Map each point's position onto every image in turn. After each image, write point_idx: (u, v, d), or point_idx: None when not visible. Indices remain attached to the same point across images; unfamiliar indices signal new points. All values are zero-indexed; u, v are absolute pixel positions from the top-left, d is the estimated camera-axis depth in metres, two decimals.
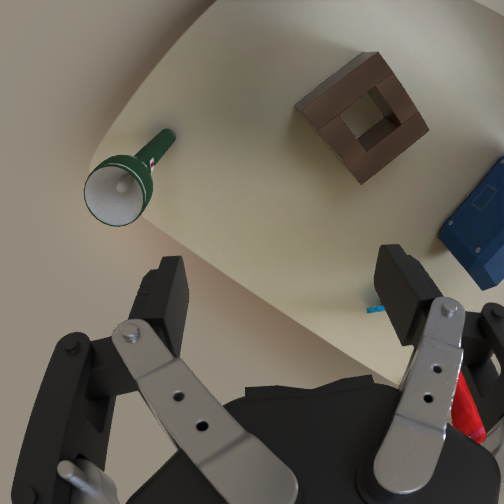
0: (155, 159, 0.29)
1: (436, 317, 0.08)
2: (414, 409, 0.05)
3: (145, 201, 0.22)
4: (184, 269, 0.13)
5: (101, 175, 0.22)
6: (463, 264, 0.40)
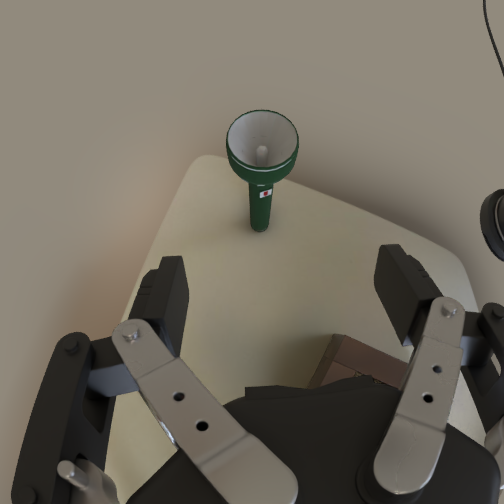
0: (265, 199, 0.30)
1: (436, 317, 0.08)
2: (414, 409, 0.05)
3: (266, 170, 0.21)
4: (184, 269, 0.13)
5: (272, 128, 0.23)
6: None
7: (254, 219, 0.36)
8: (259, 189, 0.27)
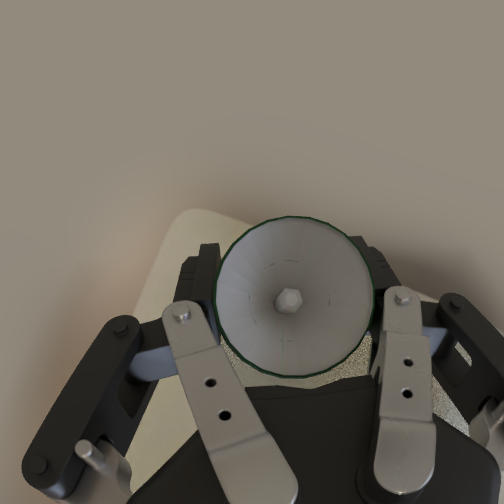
0: None
1: (392, 308, 0.09)
2: (396, 407, 0.06)
3: None
4: (220, 256, 0.13)
5: (314, 249, 0.11)
6: None
7: None
8: None
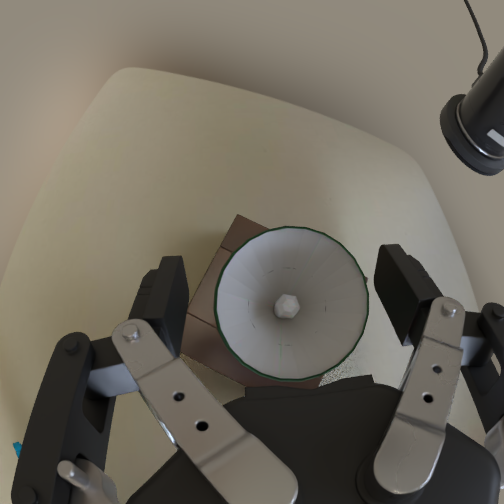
0: None
1: (436, 317, 0.08)
2: (414, 409, 0.05)
3: None
4: (184, 269, 0.13)
5: (311, 257, 0.11)
6: None
7: None
8: None
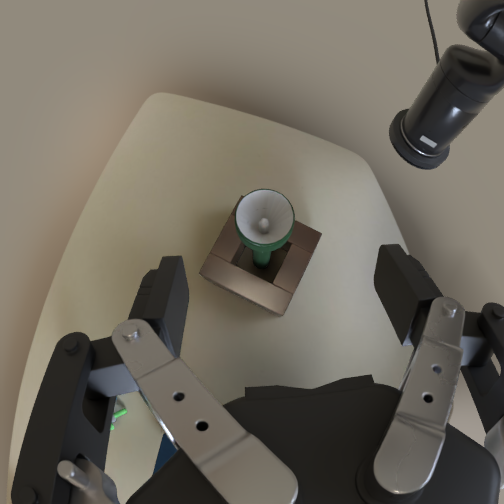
0: (266, 251, 0.35)
1: (436, 317, 0.08)
2: (414, 409, 0.05)
3: (267, 245, 0.26)
4: (184, 269, 0.13)
5: (273, 202, 0.28)
6: None
7: (256, 261, 0.41)
8: None
